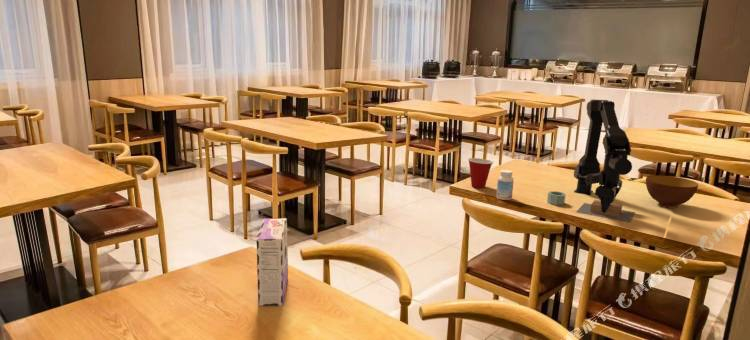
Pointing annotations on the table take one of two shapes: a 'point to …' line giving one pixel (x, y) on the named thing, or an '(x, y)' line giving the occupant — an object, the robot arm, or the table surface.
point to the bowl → (670, 190)
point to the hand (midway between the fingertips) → (606, 209)
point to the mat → (624, 215)
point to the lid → (612, 209)
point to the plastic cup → (479, 171)
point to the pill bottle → (505, 185)
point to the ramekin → (556, 198)
